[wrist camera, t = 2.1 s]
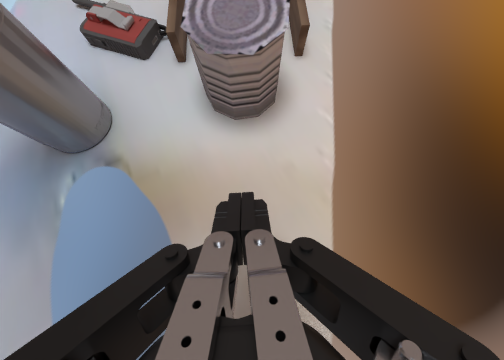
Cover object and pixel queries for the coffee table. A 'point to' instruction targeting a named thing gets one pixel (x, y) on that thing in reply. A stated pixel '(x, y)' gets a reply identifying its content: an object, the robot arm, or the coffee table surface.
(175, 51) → the walnut bay
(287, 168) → the coffee table surface
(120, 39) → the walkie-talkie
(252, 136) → the coffee table surface
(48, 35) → the coffee table surface
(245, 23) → the can
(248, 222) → the robot arm
